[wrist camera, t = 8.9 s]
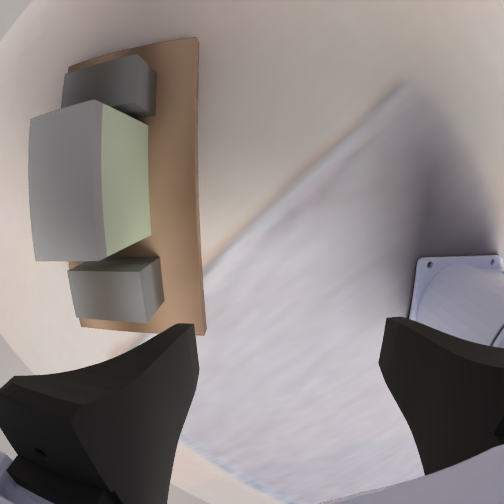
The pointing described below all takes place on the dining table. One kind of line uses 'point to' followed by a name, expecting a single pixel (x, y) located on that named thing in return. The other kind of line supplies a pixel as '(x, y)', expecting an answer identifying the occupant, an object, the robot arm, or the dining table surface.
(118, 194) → the bracket block
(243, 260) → the dining table surface
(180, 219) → the post base
